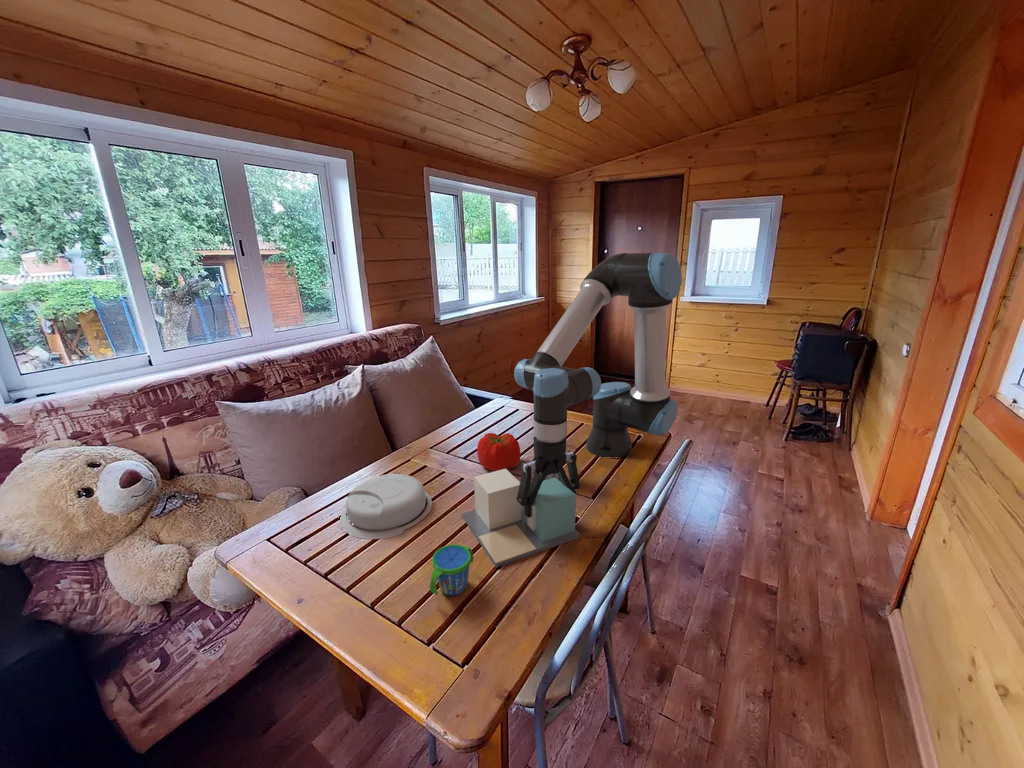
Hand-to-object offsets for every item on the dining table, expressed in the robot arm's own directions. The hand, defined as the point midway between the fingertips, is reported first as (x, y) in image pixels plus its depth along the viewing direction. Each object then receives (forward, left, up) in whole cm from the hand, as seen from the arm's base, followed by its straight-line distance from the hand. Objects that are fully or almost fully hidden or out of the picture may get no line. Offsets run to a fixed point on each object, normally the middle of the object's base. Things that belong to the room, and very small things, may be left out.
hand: (548, 521), depth 104 cm
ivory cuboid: (+9, -10, -1) cm, 14 cm away
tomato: (-3, -35, -3) cm, 35 cm away
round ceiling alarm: (+33, -28, -3) cm, 44 cm away
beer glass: (-12, -20, -3) cm, 23 cm away
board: (+6, -4, -2) cm, 8 cm away
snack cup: (+27, +7, -3) cm, 28 cm away
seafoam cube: (0, 0, -1) cm, 1 cm away
